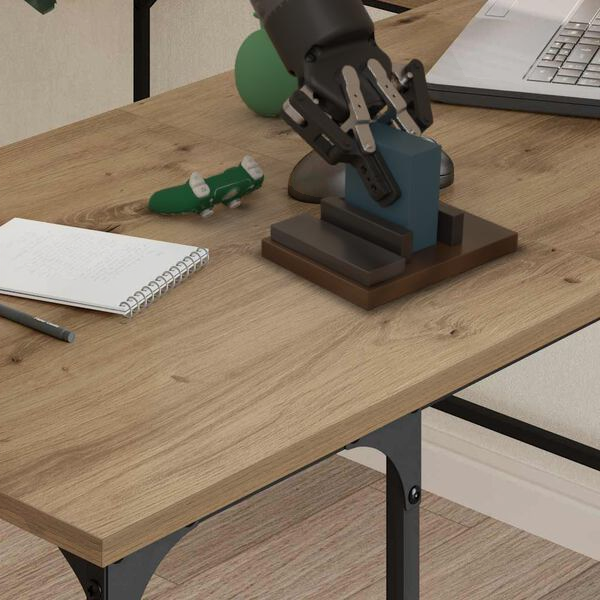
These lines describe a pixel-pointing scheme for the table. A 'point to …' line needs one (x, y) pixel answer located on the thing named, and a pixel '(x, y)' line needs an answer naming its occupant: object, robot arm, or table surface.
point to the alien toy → (262, 75)
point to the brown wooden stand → (380, 250)
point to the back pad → (404, 183)
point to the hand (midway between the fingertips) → (410, 194)
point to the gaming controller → (209, 191)
